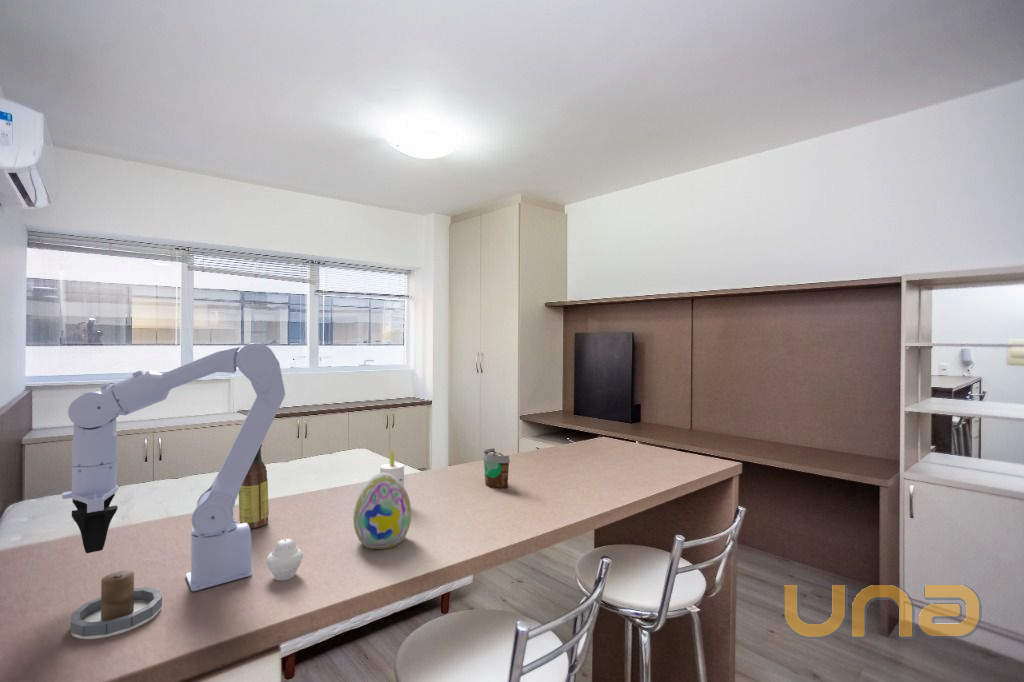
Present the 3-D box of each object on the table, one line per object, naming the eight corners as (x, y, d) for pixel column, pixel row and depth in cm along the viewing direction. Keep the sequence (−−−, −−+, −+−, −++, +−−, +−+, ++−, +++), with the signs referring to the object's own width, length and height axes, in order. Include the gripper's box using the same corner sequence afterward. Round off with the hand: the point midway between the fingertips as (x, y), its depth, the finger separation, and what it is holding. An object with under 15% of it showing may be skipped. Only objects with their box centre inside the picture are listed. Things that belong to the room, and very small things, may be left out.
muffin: (308, 568, 93) (308, 532, 93) (294, 584, 87) (295, 545, 87) (275, 569, 93) (275, 532, 93) (259, 585, 87) (260, 545, 87)
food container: (475, 481, 153) (475, 449, 153) (493, 479, 156) (493, 447, 156) (490, 492, 142) (490, 457, 142) (509, 489, 145) (509, 455, 145)
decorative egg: (351, 556, 99) (352, 482, 99) (354, 534, 110) (354, 468, 110) (413, 550, 102) (413, 478, 102) (409, 528, 114) (409, 464, 114)
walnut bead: (132, 604, 79) (132, 567, 79) (135, 615, 76) (135, 576, 76) (100, 613, 76) (100, 575, 76) (101, 625, 73) (102, 585, 73)
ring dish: (157, 592, 84) (157, 581, 84) (164, 620, 76) (164, 607, 76) (71, 616, 77) (71, 603, 77) (69, 649, 68) (69, 634, 68)
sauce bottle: (261, 518, 120) (262, 438, 120) (273, 524, 116) (274, 441, 116) (233, 526, 115) (233, 442, 115) (244, 532, 111) (245, 445, 111)
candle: (390, 510, 126) (390, 452, 126) (374, 505, 130) (375, 449, 130) (409, 504, 131) (409, 448, 131) (393, 499, 135) (393, 445, 135)
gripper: (63, 458, 84) (62, 537, 84) (61, 475, 74) (59, 565, 73) (116, 453, 89) (115, 527, 89) (121, 468, 78) (119, 552, 78)
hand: (93, 543), depth 82 cm, fingers open, 7 cm apart
